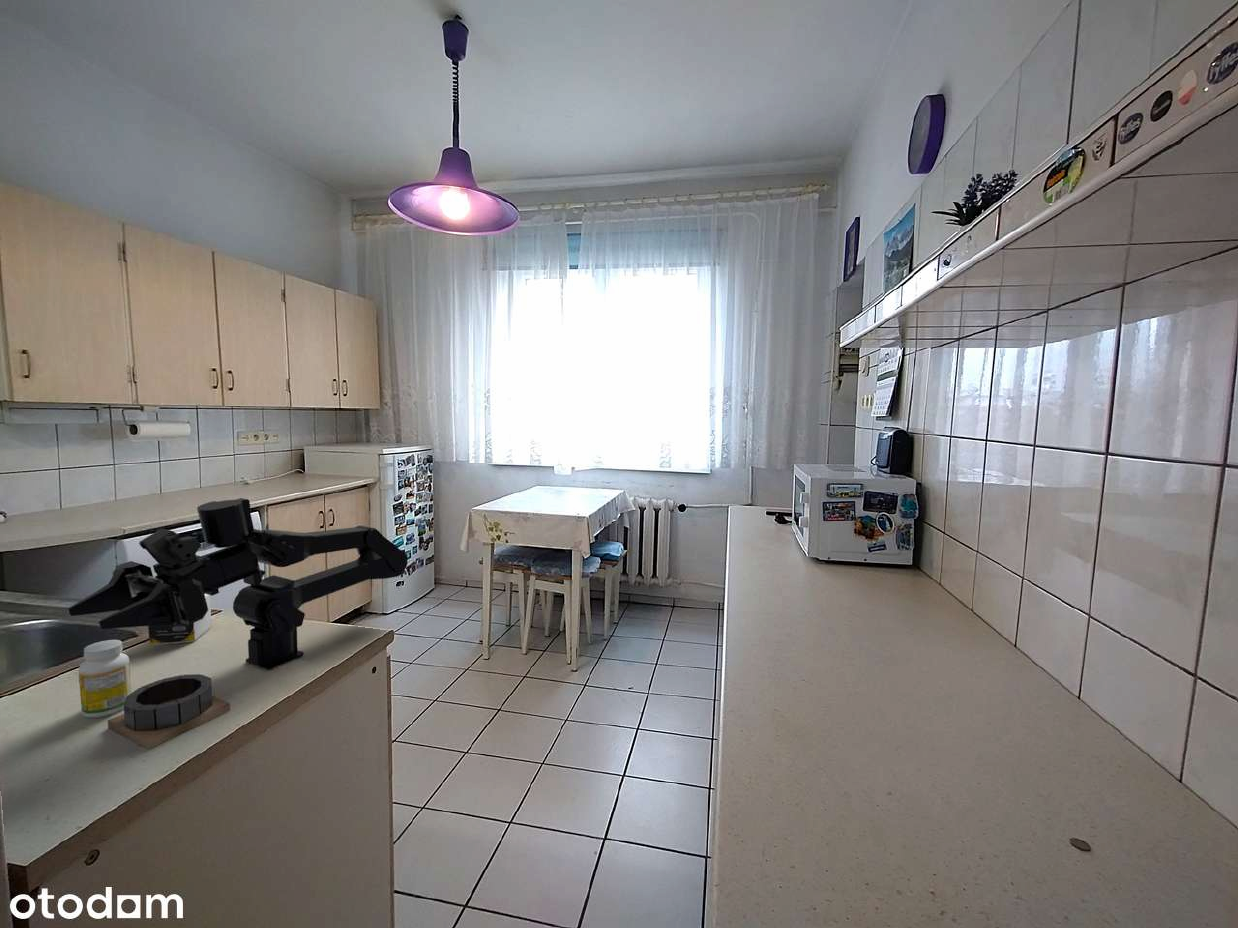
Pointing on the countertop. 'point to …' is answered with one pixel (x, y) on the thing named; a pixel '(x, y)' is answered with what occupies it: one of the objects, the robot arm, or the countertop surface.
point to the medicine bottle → (180, 630)
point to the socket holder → (167, 709)
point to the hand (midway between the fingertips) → (83, 618)
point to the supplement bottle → (104, 679)
